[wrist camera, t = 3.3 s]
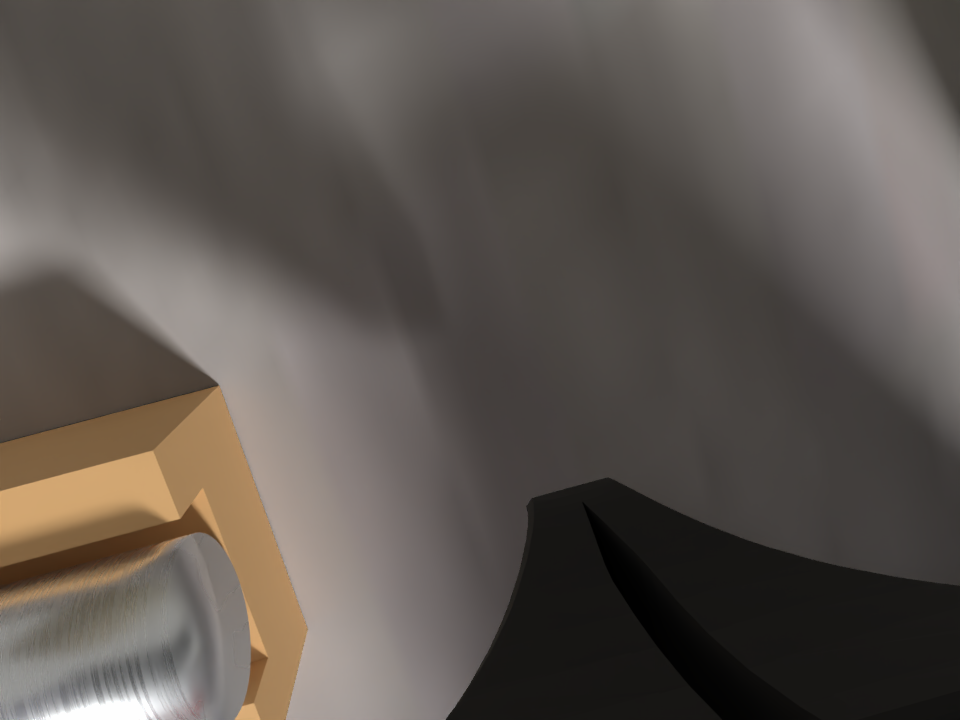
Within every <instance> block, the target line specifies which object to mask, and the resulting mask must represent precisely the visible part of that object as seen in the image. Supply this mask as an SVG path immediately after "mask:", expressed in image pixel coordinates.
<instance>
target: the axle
mask: <svg viewBox="0 0 960 720" xmlns="http://www.w3.org/2000/svg"><path fill="white" fill-rule="evenodd" d="M250 664H251V641H250V628H249V621H248V614H247V609H246V604H245V600H244V595H243V592H242V588H241V585H240V582H239V579H238V576H237V574H236V571H235V569H234V567H233V565H232V563H231V561H230V559H229V557H228V555H227V554H226V552H225V550H224V549H223V548H222V546H221V545H220V544H219V543H218V542H217V541H216V540H215V539H214V538H212V537H211V536H209V535H207V534H205V533H200V532H199V533H193V534H189V535H186V536H182V537H178V538H174V539H171V540H167V541H163V542H160V543H156V544H152V545H149V546H145V547H141V548H137V549H134V550H130V551H126V552H123V553H119V554H115V555H112V556H108V557H104V558H100V559H97V560H93V561H89V562H86V563H82V564H78V565H75V566H71V567H67V568H63V569H60V570H56V571H52V572H49V573H45V574H41V575H38V576H34V577H30V578H26V579H23V580H19V581H15V582H12V583H8V584H4V585H1V586H0V720H234V719H235V718H236V717H237V715H238V713H239V712H240V710H241V708H242V705H243V703H244V700H245V696H246V693H247V688H248V683H249V676H250Z"/></svg>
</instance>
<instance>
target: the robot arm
mask: <svg viewBox="0 0 960 720" xmlns="http://www.w3.org/2000/svg"><path fill="white" fill-rule="evenodd" d="M527 511H528V530H527V538H526V544H525V548H524V553H523V558H522V563H521V567H520V571H519V574H518V578H517V581H516V584H515V587H514V590H513V593H512V596H511V599H510V602H509V605H508V608H507V610H506V613H505V616H504V618H503V621H502V623H501V625H500V627H499V630H498V632H497V634H496V636H495V638H494V640H493V643H492V645H491V647H490V649H489V651H488V653H487V655H486V656H485V658H484V660H483V662H482V663H481V665H480V667H479V669H478V671H477V672H476V674H475V676H474V678H473V679H472V681H471V683H470V685H469V686H468V688H467V689H466V691H465V693H464V694H463V696H462V697H461V699H460V700H459V702H458V703H457V705H456V706H455V708H454V709H453V710H452V712H451V713H450V714H449V716H448V717H447V719H446V720H960V586H958V585H949V584H940V583H932V582H925V581H919V580H912V579H905V578H898V577H892V576H887V575H882V574H877V573H872V572H867V571H861V570H856V569H851V568H846V567H841V566H837V565H832V564H828V563H824V562H819V561H815V560H811V559H808V558H804V557H801V556H797V555H794V554H790V553H787V552H783V551H780V550H776V549H773V548H769V547H766V546H763V545H760V544H757V543H754V542H751V541H748V540H745V539H742V538H740V537H737V536H734V535H732V534H729V533H727V532H724V531H721V530H719V529H716V528H714V527H711V526H709V525H706V524H704V523H702V522H699V521H697V520H694V519H692V518H690V517H688V516H685V515H683V514H681V513H679V512H677V511H675V510H673V509H670V508H668V507H666V506H664V505H662V504H660V503H658V502H656V501H654V500H652V499H650V498H648V497H646V496H644V495H642V494H640V493H638V492H636V491H634V490H632V489H631V488H629V487H627V486H625V485H623V484H621V483H619V482H617V481H615V480H613V479H611V478H604V479H600V480H597V481H593V482H589V483H586V484H582V485H578V486H575V487H571V488H567V489H564V490H560V491H556V492H553V493H549V494H545V495H542V496H538V497H534V498H532V499H531V500H530V502H529V504H528V505H527Z"/></svg>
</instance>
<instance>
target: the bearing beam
mask: <svg viewBox="0 0 960 720" xmlns="http://www.w3.org/2000/svg"><path fill="white" fill-rule="evenodd" d="M199 532H200V533H205V534H207V535H209V536H211V537H212V538H214V539H215V540H216V541H217V542H218V543H219V544H220V545H221V546H222V548H223V549H224V550H225V552H226V554H227V555H228V557H229V559H230V561H231V563H232V565H233V567H234V569H235V571H236V574H237V576H238V579H239V582H240V585H241V588H242V592H243V595H244V600H245V604H246V609H247V614H248V621H249V628H250V641H251V664H250V676H249V683H248V688H247V693H246V696H245V700H244V703H243V705H242V708H241V710H240V712H239V713H238V715H237V717H236V718H235V719H234V720H285V719H286V715H287V711H288V707H289V703H290V699H291V695H292V691H293V687H294V683H295V679H296V675H297V671H298V667H299V662H300V658H301V654H302V650H303V646H304V642H305V638H306V634H307V630H308V629H307V626H306V623H305V621H304V618H303V615H302V612H301V610H300V607H299V604H298V601H297V599H296V596H295V593H294V590H293V588H292V585H291V582H290V579H289V576H288V574H287V571H286V568H285V565H284V563H283V560H282V557H281V554H280V552H279V549H278V546H277V543H276V541H275V538H274V535H273V532H272V530H271V527H270V524H269V521H268V519H267V516H266V513H265V510H264V508H263V505H262V502H261V499H260V497H259V494H258V491H257V488H256V486H255V483H254V480H253V477H252V475H251V472H250V469H249V466H248V464H247V461H246V458H245V455H244V453H243V450H242V447H241V444H240V442H239V439H238V436H237V433H236V431H235V428H234V425H233V422H232V420H231V417H230V414H229V411H228V409H227V406H226V403H225V400H224V398H223V395H222V392H221V389H220V387H219V386H215V387H212V388H208V389H204V390H200V391H196V392H193V393H189V394H185V395H181V396H177V397H174V398H170V399H166V400H162V401H159V402H155V403H151V404H147V405H143V406H140V407H136V408H132V409H128V410H125V411H121V412H117V413H113V414H109V415H106V416H102V417H98V418H94V419H90V420H87V421H83V422H79V423H75V424H72V425H68V426H64V427H60V428H56V429H53V430H49V431H45V432H41V433H37V434H34V435H30V436H26V437H22V438H19V439H15V440H11V441H7V442H3V443H0V586H1V585H4V584H8V583H12V582H15V581H19V580H23V579H26V578H30V577H34V576H38V575H41V574H45V573H49V572H52V571H56V570H60V569H63V568H67V567H71V566H75V565H78V564H82V563H86V562H89V561H93V560H97V559H100V558H104V557H108V556H112V555H115V554H119V553H123V552H126V551H130V550H134V549H137V548H141V547H145V546H149V545H152V544H156V543H160V542H163V541H167V540H171V539H174V538H178V537H182V536H186V535H189V534H193V533H199Z"/></svg>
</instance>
